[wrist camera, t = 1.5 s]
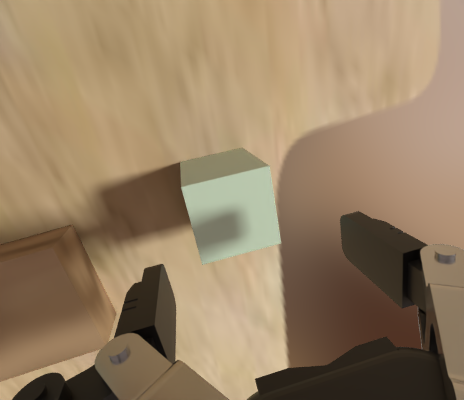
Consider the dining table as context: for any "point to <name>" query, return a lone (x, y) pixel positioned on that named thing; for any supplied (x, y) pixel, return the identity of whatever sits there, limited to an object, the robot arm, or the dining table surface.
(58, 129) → the dining table surface
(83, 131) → the dining table surface
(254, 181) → the green block
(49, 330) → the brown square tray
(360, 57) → the dining table surface
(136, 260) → the dining table surface
